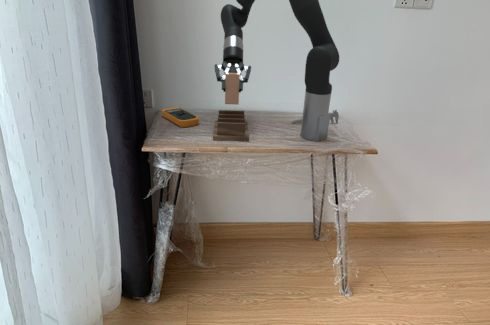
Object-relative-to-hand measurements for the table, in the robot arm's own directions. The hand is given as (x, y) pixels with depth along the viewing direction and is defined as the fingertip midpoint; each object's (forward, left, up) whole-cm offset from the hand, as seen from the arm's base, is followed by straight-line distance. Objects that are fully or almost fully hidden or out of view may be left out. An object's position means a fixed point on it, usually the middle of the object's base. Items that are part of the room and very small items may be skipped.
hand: (232, 90), depth 130 cm
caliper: (-11, -37, -17) cm, 42 cm away
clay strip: (+2, -1, -5) cm, 6 cm away
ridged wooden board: (+1, -1, -16) cm, 16 cm away
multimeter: (+24, +7, -17) cm, 30 cm away
